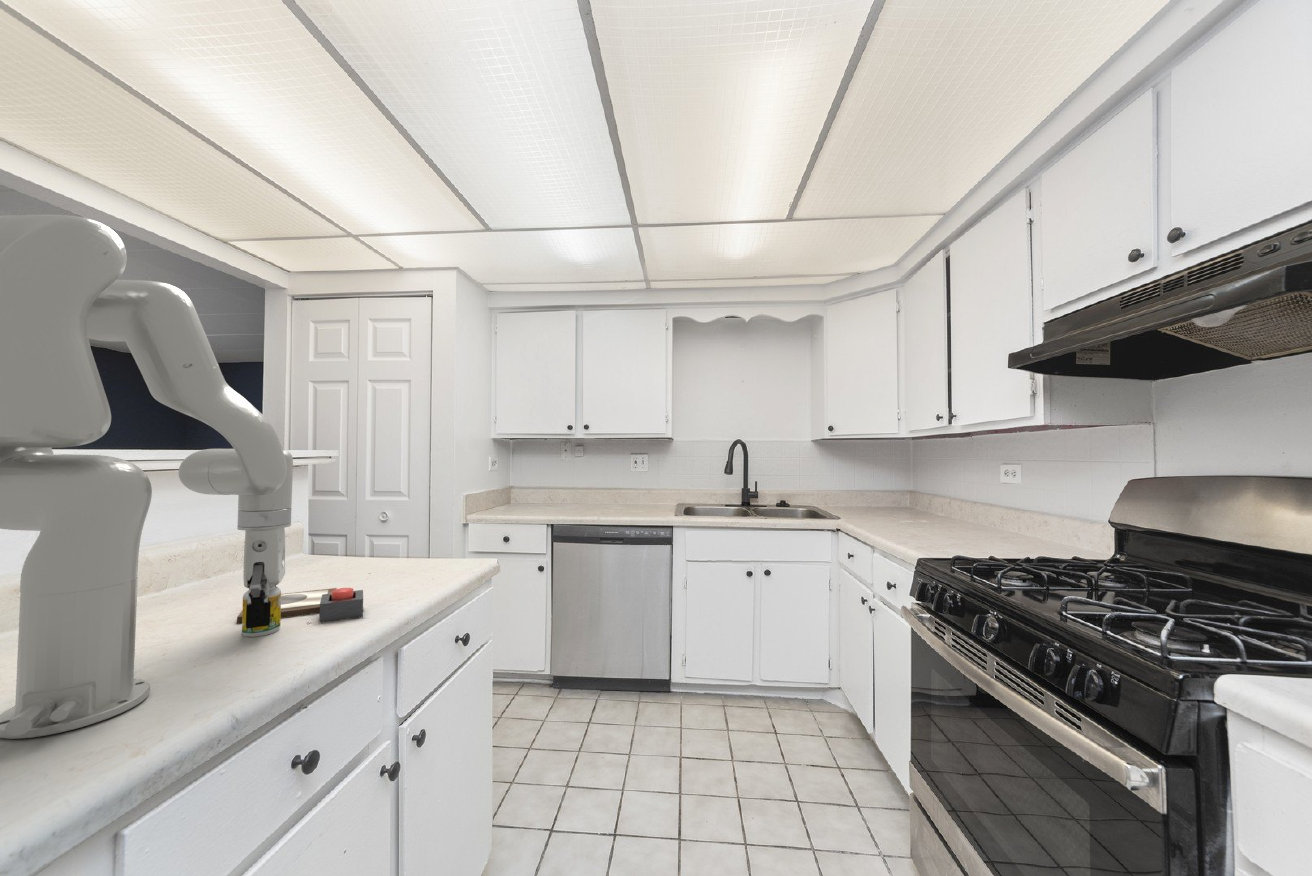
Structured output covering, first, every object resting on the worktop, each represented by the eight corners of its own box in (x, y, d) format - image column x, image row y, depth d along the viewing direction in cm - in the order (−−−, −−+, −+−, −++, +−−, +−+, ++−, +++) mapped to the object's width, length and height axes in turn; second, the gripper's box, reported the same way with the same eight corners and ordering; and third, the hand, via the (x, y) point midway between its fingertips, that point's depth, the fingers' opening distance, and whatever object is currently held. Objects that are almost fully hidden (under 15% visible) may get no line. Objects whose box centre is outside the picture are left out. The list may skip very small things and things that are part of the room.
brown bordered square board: (333, 611, 99) (333, 603, 99) (236, 623, 91) (237, 615, 91) (336, 593, 111) (336, 586, 111) (251, 602, 103) (251, 595, 103)
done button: (352, 604, 97) (353, 591, 97) (330, 607, 95) (331, 593, 95) (353, 599, 100) (353, 586, 100) (331, 601, 98) (332, 589, 98)
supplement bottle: (281, 624, 91) (283, 572, 92) (278, 634, 87) (280, 579, 87) (243, 630, 88) (245, 576, 89) (239, 640, 84) (241, 583, 84)
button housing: (362, 617, 96) (363, 598, 96) (319, 623, 92) (319, 604, 93) (362, 606, 102) (363, 589, 102) (321, 612, 99) (322, 594, 99)
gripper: (284, 524, 83) (281, 632, 82) (296, 512, 98) (293, 603, 97) (226, 527, 79) (222, 640, 78) (247, 514, 94) (244, 609, 93)
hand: (261, 618), depth 88 cm, fingers open, 6 cm apart
